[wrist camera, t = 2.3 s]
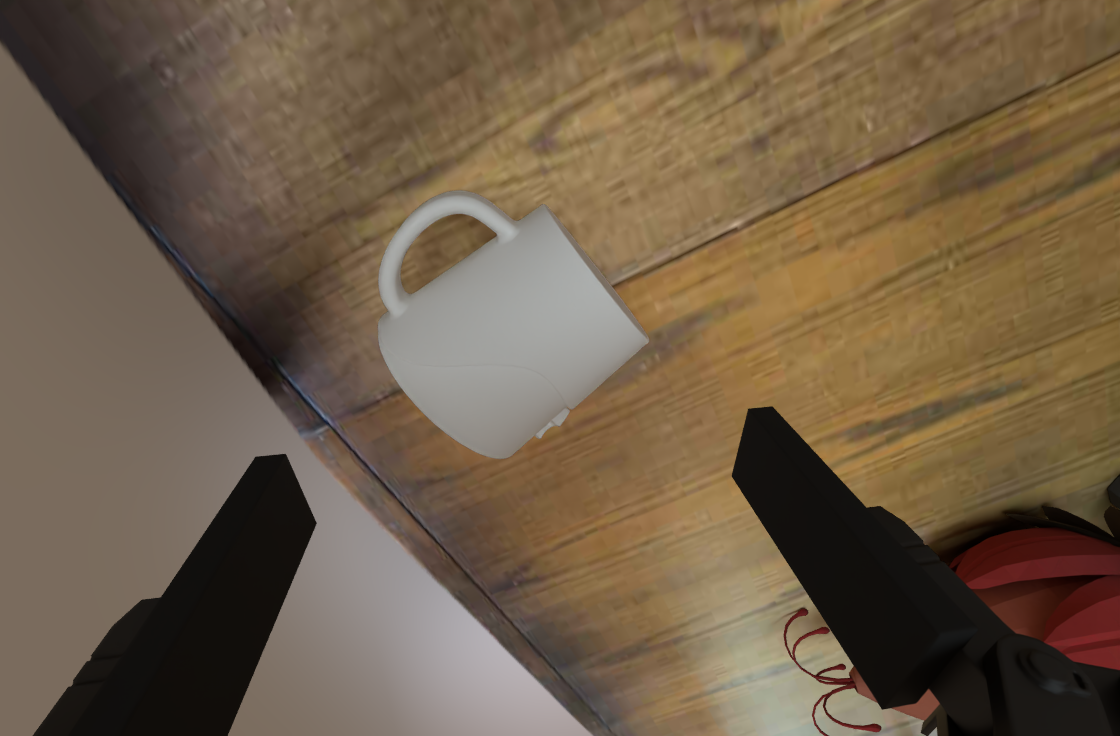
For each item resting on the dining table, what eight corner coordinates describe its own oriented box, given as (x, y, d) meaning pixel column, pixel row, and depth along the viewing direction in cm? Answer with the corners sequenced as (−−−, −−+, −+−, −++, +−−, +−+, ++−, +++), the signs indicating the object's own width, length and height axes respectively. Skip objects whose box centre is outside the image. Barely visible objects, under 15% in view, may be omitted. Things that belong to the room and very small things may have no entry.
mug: (631, 309, 26) (680, 381, 19) (513, 400, 28) (520, 493, 22) (490, 131, 21) (490, 146, 14) (356, 262, 23) (299, 330, 16)
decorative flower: (1022, 471, 47) (741, 539, 53) (1379, 581, 25) (822, 682, 30) (1091, 668, 47) (801, 717, 52) (1518, 964, 24) (929, 1000, 29)
